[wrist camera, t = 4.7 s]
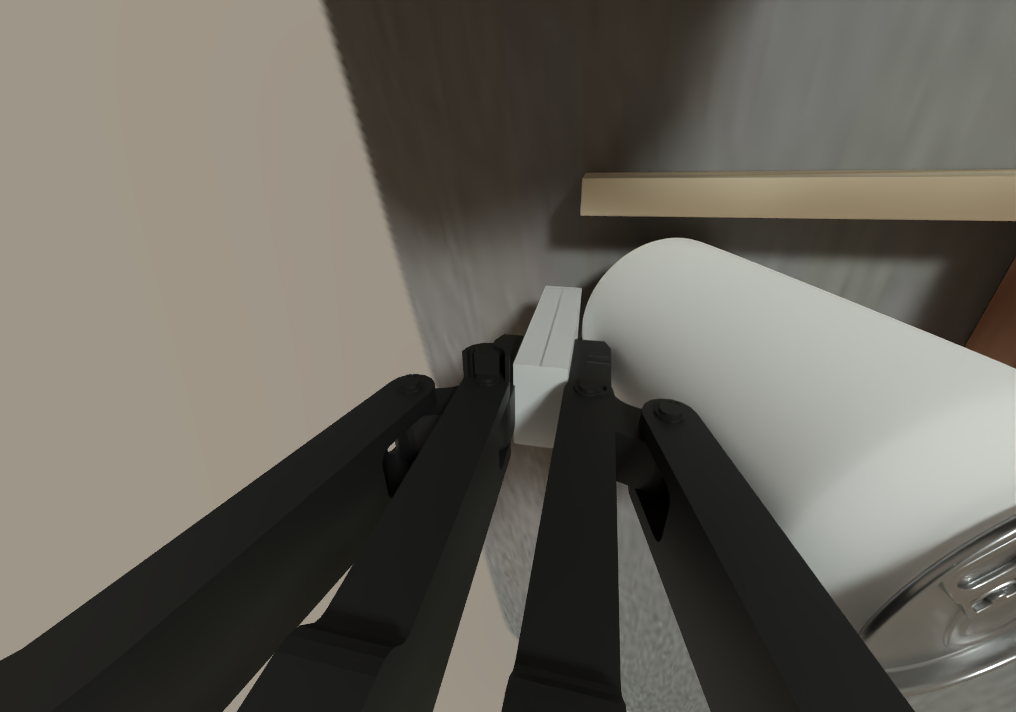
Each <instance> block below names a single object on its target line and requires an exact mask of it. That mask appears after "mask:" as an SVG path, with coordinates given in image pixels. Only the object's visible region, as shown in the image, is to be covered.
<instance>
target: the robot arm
mask: <svg viewBox="0 0 1016 712" xmlns="http://www.w3.org/2000/svg"><path fill="white" fill-rule="evenodd" d="M581 292H582V288H574V287H557V286H545V289H544V291H543V293H542V296H541V298H540V301H539V303H538V305H537V308H536V310H535V313H534V315H533V317H532V320H531V322H530V325H529V327H528V329H527V332H526V334H525V336H519V335H506V334H504V335H502V336H501V337H499V338H498V339H496V340H495V341H494V343H480V344H475V345H472V346H469V347H467V348H466V349H465V350H463V351H462V357H463V370H464V378H463V380H462V382H461V383H460V385H459V386H456V387H449V388H437V389H435V383H434V381H433V380H432V379H431V378H430V377H428V376H425V375H419V374H413V375H412V374H409V375H406V376H402V377H399V378H397V379H395V380H393V381H391V382H390V383H388V384H387V385H386V386H384V387H383V388H382V389H380V390H379V391H377V392H376V393H375V394H373V395H372V396H371V397H369V398H368V399H366V400H365V401H364V402H362V403H361V404H360V405H358V406H357V407H355V408H354V409H353V410H351V411H350V412H348V413H347V414H346V415H344V416H343V417H341V418H340V419H339V420H337V421H336V422H335V423H333V424H332V425H330V426H329V427H328V428H326V429H325V430H324V431H322V432H321V433H319V434H318V435H317V436H315V437H314V438H313V439H311V440H310V441H308V442H307V443H306V444H304V445H303V446H302V447H300V448H299V449H297V450H296V451H295V452H293V453H292V454H290V455H289V456H288V457H286V458H285V459H284V460H282V461H281V462H280V463H278V464H277V465H275V466H274V467H272V468H271V469H270V470H268V471H267V472H266V473H264V474H263V475H261V476H260V477H259V478H257V479H256V480H255V481H253V482H252V483H250V484H249V485H248V486H247V487H245V488H243V489H242V490H241V491H239V492H238V493H237V494H235V495H234V496H232V497H231V498H230V499H228V500H227V501H226V502H224V503H223V504H221V505H220V506H219V507H217V508H216V509H215V510H213V511H212V512H210V513H209V514H208V515H206V516H205V517H203V518H202V519H201V520H199V521H198V522H197V523H195V524H194V525H192V526H191V527H190V528H188V529H187V530H186V531H184V532H183V533H181V534H180V535H179V536H177V537H176V538H174V539H173V540H172V541H170V542H169V543H168V544H166V545H165V546H163V547H162V548H161V549H159V550H158V551H157V552H155V553H154V554H152V555H151V556H150V557H148V558H147V559H145V560H144V561H143V562H141V563H140V564H139V565H137V566H136V567H134V568H133V569H132V570H130V571H129V572H128V573H126V574H125V575H124V576H122V577H121V578H119V579H118V580H117V581H115V582H114V583H112V584H111V585H110V586H108V587H107V588H105V589H104V590H103V591H101V592H100V593H99V594H97V595H96V596H94V597H93V598H92V599H90V600H89V601H87V602H86V603H85V604H83V605H82V606H81V607H79V608H78V609H77V610H75V611H74V612H72V613H71V614H70V615H68V616H67V617H65V618H64V619H63V620H61V621H60V622H59V623H57V624H56V625H55V626H53V627H52V628H50V629H49V630H48V631H46V632H45V633H43V634H42V635H41V636H40V637H38V638H36V639H35V640H34V641H32V642H31V643H30V644H28V645H27V646H26V647H24V648H23V649H21V650H19V651H17V652H16V653H14V654H12V655H10V656H8V657H6V658H4V659H3V660H1V661H0V712H223V711H224V709H225V708H226V707H227V706H228V705H229V704H230V703H231V702H232V700H233V699H234V698H235V697H236V696H237V695H238V694H239V692H240V691H241V690H242V689H243V688H244V687H245V686H246V685H247V683H248V682H249V681H250V680H251V679H252V678H253V677H254V676H255V674H256V673H257V672H258V671H259V670H260V669H261V667H262V666H263V665H264V664H265V663H266V662H267V661H268V660H269V659H270V657H271V656H272V655H273V654H274V655H273V656H272V658H271V659H270V661H269V662H268V664H267V666H266V667H265V669H264V670H263V672H262V673H261V675H260V676H259V678H258V680H257V681H256V683H255V684H254V686H253V687H252V689H251V690H250V692H249V693H248V695H247V697H246V698H245V700H244V701H243V703H242V704H241V706H240V707H239V709H238V711H237V712H433V709H434V706H435V702H436V699H437V696H438V693H439V689H440V686H441V683H442V679H443V676H444V673H445V669H446V666H447V663H448V659H449V656H450V653H451V650H452V646H453V643H454V640H455V636H456V633H457V630H458V627H459V623H460V620H461V617H462V613H463V610H464V607H465V603H466V600H467V597H468V594H469V590H470V587H471V584H472V580H473V577H474V574H475V571H476V567H477V564H478V561H479V557H480V554H481V551H482V548H483V544H484V541H485V538H486V534H487V531H488V528H489V525H490V521H491V518H492V515H493V511H494V508H495V505H496V501H497V498H498V495H499V492H500V488H501V485H502V482H503V478H504V475H505V472H506V468H507V465H508V462H509V459H510V455H511V438H512V435H513V432H514V443H515V444H522V445H530V446H537V447H544V448H552V449H553V452H552V458H551V464H550V469H549V475H548V481H547V486H546V492H545V497H544V503H543V509H542V514H541V520H540V526H539V531H538V537H537V543H536V548H535V554H534V560H533V565H532V571H531V576H530V582H529V588H528V593H527V599H526V605H525V610H524V616H523V622H522V627H521V633H520V638H519V644H518V650H517V655H516V660H515V665H514V669H513V671H512V673H511V675H510V676H509V680H508V684H507V688H506V692H505V697H504V702H503V707H502V712H626V705H625V702H624V700H623V698H622V693H621V679H620V635H619V589H618V543H617V496H616V481H618V482H621V483H623V484H626V485H628V489H629V495H630V497H631V500H632V503H633V505H634V508H635V511H636V513H637V516H638V519H639V521H640V524H641V527H642V529H643V532H644V535H645V537H646V540H647V543H648V545H649V548H650V551H651V553H652V556H653V559H654V561H655V564H656V567H657V569H658V572H659V575H660V578H661V580H662V583H663V586H664V588H665V591H666V594H667V596H668V599H669V602H670V604H671V607H672V610H673V612H674V615H675V618H676V620H677V623H678V626H679V628H680V631H681V634H682V636H683V639H684V642H685V644H686V647H687V650H688V652H689V655H690V658H691V660H692V663H693V666H694V668H695V671H696V674H697V676H698V679H699V682H700V684H701V687H702V690H703V692H704V695H705V698H706V700H707V703H708V706H709V708H710V711H711V712H915V711H914V710H913V709H912V707H911V706H910V704H909V703H908V702H907V700H906V699H905V698H904V696H903V695H902V693H901V692H900V691H899V689H898V688H897V687H896V685H895V684H894V682H893V681H892V680H891V678H890V677H889V676H888V674H887V673H886V672H885V670H884V669H883V667H882V666H881V665H880V663H879V662H878V661H877V659H876V658H875V656H874V655H873V654H872V652H871V651H870V650H869V648H868V647H867V645H866V644H865V643H864V641H863V640H862V639H861V637H860V636H859V635H858V633H857V632H856V630H855V629H854V628H853V626H852V625H851V624H850V622H849V621H848V619H847V618H846V617H845V615H844V614H843V613H842V611H841V610H840V608H839V607H838V606H837V604H836V603H835V602H834V600H833V599H832V597H831V596H830V595H829V593H828V592H827V591H826V589H825V588H824V587H823V585H822V584H821V582H820V581H819V580H818V578H817V577H816V576H815V574H814V573H813V571H812V570H811V569H810V567H809V566H808V565H807V563H806V562H805V560H804V559H803V558H802V556H801V555H800V554H799V552H798V551H797V550H796V548H795V547H794V545H793V544H792V543H791V541H790V540H789V539H788V537H787V536H786V534H785V533H784V532H783V530H782V529H781V528H780V526H779V525H778V523H777V522H776V521H775V519H774V518H773V517H772V515H771V514H770V513H769V511H768V510H767V508H766V507H765V506H764V504H763V503H762V502H761V500H760V499H759V497H758V496H757V495H756V493H755V492H754V491H753V489H752V488H751V486H750V485H749V484H748V482H747V481H746V480H745V478H744V477H743V476H742V474H741V473H740V471H739V470H738V469H737V467H736V466H735V465H734V463H733V462H732V460H731V459H730V458H729V456H728V455H727V454H726V452H725V451H724V449H723V448H722V447H721V445H720V444H719V443H718V441H717V440H716V438H715V437H714V436H713V434H712V433H711V432H710V430H709V429H708V428H707V426H706V425H705V423H704V422H703V421H702V419H701V418H700V417H699V415H698V414H697V413H696V412H695V411H694V410H693V409H692V408H691V407H689V406H688V405H686V404H684V403H682V402H679V401H676V400H672V399H661V398H660V399H653V400H650V401H648V402H646V403H644V405H643V407H642V409H641V408H638V407H634V406H631V405H629V404H626V403H624V402H623V401H621V400H619V399H618V398H617V397H616V396H615V395H614V391H613V388H612V387H611V348H610V347H609V346H608V345H607V344H606V343H605V341H594V340H581V339H578V332H579V319H580V306H581ZM393 442H395V444H396V447H395V448H394V449H393V450H392V451H390V452H388V450H387V449H388V448H389V446H390V445H391V444H392V443H393ZM353 563H354V564H353ZM352 565H353V566H352ZM351 566H352V567H351ZM350 567H351V569H350V571H349V572H348V574H347V576H346V577H345V579H344V581H343V583H342V584H341V586H340V587H339V589H338V591H337V593H336V594H335V596H334V598H333V599H332V601H331V603H330V604H329V606H328V608H327V609H326V611H325V612H324V614H323V615H322V616H321V618H319V619H318V620H317V621H316V622H315V623H311V624H305V625H300V626H299V624H300V623H301V622H302V621H303V620H304V619H305V618H306V617H307V616H308V614H309V613H310V612H311V611H312V610H313V609H314V608H315V606H316V605H317V604H318V603H319V602H320V601H321V600H322V599H323V597H324V596H325V595H326V594H327V593H328V592H329V591H330V589H331V588H332V587H333V586H334V585H335V584H336V583H337V582H338V580H339V579H340V578H341V577H342V576H343V575H344V574H345V572H346V571H347V570H348V569H349V568H350ZM298 626H299V627H298Z"/></svg>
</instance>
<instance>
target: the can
mask: <svg viewBox="0 0 1016 712" xmlns="http://www.w3.org/2000/svg"><path fill="white" fill-rule="evenodd" d="M582 339H583V340H594V341H605V343H606V344H607V345H608V346H609V347H610V348H611V387H612V388H613V391H614V395H615V396H616V397H617V398H618V399H619V400H621V401H623V402H624V403H626V404H629V405H631V406H634V407H638V408H641V409H642V407H643V405H644V403H646V402H648V401H650V400H653V399H660V398H661V399H672V400H676V401H679V402H682V403H684V404H686V405H688V406H689V407H691V408H692V409H693V410H694V411H695V412H696V413H697V414H698V415H699V417H700V418H701V419H702V421H703V422H704V423H705V425H706V426H707V428H708V429H709V430H710V432H711V433H712V434H713V436H714V437H715V438H716V440H717V441H718V443H719V444H720V445H721V447H722V448H723V449H724V451H725V452H726V454H727V455H728V456H729V458H730V459H731V460H732V462H733V463H734V465H735V466H736V467H737V469H738V470H739V471H740V473H741V474H742V476H743V477H744V478H745V480H746V481H747V482H748V484H749V485H750V486H751V488H752V489H753V491H754V492H755V493H756V495H757V496H758V497H759V499H760V500H761V502H762V503H763V504H764V506H765V507H766V508H767V510H768V511H769V513H770V514H771V515H772V517H773V518H774V519H775V521H776V522H777V523H778V525H779V526H780V528H781V529H782V530H783V532H784V533H785V534H786V536H787V537H788V539H789V540H790V541H791V543H792V544H793V545H794V547H795V548H796V550H797V551H798V552H799V554H800V555H801V556H802V558H803V559H804V560H805V562H806V563H807V565H808V566H809V567H810V569H811V570H812V571H813V573H814V574H815V576H816V577H817V578H818V580H819V581H820V582H821V584H822V585H823V587H824V588H825V589H826V591H827V592H828V593H829V595H830V596H831V597H832V599H833V600H834V602H835V603H836V604H837V606H838V607H839V608H840V610H841V611H842V613H843V614H844V615H845V617H846V618H847V619H848V621H849V622H850V624H851V625H852V626H853V628H854V629H855V630H856V632H857V633H858V635H859V636H860V637H861V639H862V640H863V641H864V643H865V644H866V645H867V647H868V648H869V650H870V651H871V652H872V654H873V655H874V656H875V658H876V659H877V661H878V662H879V663H880V665H881V666H882V667H883V669H884V670H885V672H886V673H887V674H888V676H889V677H890V678H891V680H892V681H893V682H894V684H895V685H896V687H897V688H898V689H899V691H900V692H901V693H902V695H903V696H904V697H910V696H915V695H920V694H925V693H929V692H933V691H936V690H940V689H944V688H947V687H950V686H953V685H956V684H959V683H962V682H965V681H968V680H970V679H973V678H976V677H978V676H981V675H983V674H986V673H988V672H991V671H993V670H996V669H998V668H1000V667H1003V666H1005V665H1007V664H1009V663H1011V662H1014V661H1016V369H1015V368H1013V367H1010V366H1008V365H1006V364H1003V363H1001V362H999V361H996V360H994V359H991V358H989V357H986V356H984V355H982V354H979V353H977V352H974V351H972V350H969V349H967V348H965V347H962V346H960V345H957V344H955V343H952V342H950V341H948V340H945V339H943V338H940V337H938V336H935V335H933V334H930V333H928V332H926V331H923V330H921V329H918V328H916V327H913V326H911V325H908V324H906V323H903V322H901V321H898V320H896V319H893V318H891V317H889V316H886V315H884V314H881V313H879V312H876V311H874V310H871V309H869V308H866V307H864V306H861V305H859V304H856V303H854V302H851V301H849V300H847V299H844V298H842V297H839V296H837V295H834V294H832V293H829V292H827V291H824V290H822V289H819V288H817V287H814V286H812V285H809V284H807V283H804V282H802V281H799V280H797V279H794V278H792V277H789V276H787V275H784V274H782V273H779V272H777V271H774V270H772V269H769V268H767V267H764V266H762V265H759V264H757V263H754V262H752V261H749V260H747V259H744V258H742V257H739V256H737V255H734V254H732V253H729V252H727V251H724V250H721V249H719V248H716V247H714V246H711V245H708V244H705V243H703V242H700V241H696V240H692V239H687V238H667V239H661V240H657V241H653V242H650V243H647V244H645V245H643V246H640V247H638V248H636V249H635V250H633V251H631V252H630V253H628V254H626V255H625V256H624V257H622V258H621V259H620V260H618V261H617V262H616V263H615V264H614V265H613V266H612V267H611V268H610V269H609V270H608V271H607V272H606V273H605V274H604V276H603V277H602V278H601V279H600V281H599V282H598V284H597V285H596V287H595V288H594V290H593V292H592V294H591V296H590V298H589V300H588V303H587V306H586V309H585V312H584V316H583V323H582Z"/></svg>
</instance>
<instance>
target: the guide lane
mask: <svg viewBox="0 0 1016 712" xmlns="http://www.w3.org/2000/svg"><path fill="white" fill-rule="evenodd" d="M580 216H655V217H734V218H813V219H892V220H971V221H1016V169H956V170H833V171H711V172H589V173H586V174H585V175H584V177H583V178H582V193H581V211H580ZM965 348H967V349H969V350H972V351H974V352H977V353H979V354H982V355H984V356H986V357H989V358H991V359H994V360H996V361H999V362H1001V363H1003V364H1006V365H1008V366H1010V367H1013V368H1015V369H1016V257H1015V259H1014V261H1013V262H1012V264H1011V266H1010V268H1009V269H1008V271H1007V273H1006V275H1005V276H1004V278H1003V280H1002V282H1001V283H1000V285H999V287H998V289H997V290H996V292H995V294H994V296H993V298H992V299H991V301H990V303H989V305H988V306H987V308H986V310H985V312H984V313H983V315H982V317H981V319H980V320H979V322H978V324H977V326H976V327H975V329H974V331H973V333H972V335H971V336H970V338H969V340H968V342H967V343H966V345H965Z"/></svg>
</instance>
